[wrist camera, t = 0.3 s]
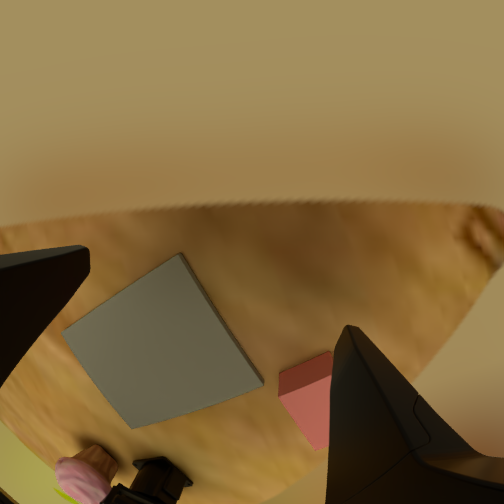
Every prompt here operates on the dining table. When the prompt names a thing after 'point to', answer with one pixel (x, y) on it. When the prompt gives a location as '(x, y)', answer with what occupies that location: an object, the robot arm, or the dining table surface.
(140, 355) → the mat
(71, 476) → the cupcake
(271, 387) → the dining table surface
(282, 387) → the red block
